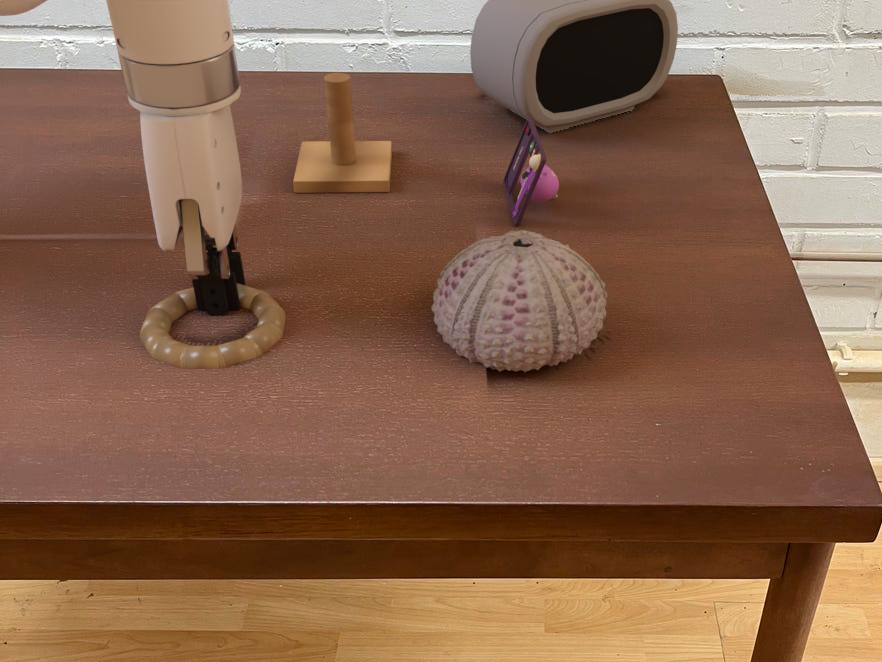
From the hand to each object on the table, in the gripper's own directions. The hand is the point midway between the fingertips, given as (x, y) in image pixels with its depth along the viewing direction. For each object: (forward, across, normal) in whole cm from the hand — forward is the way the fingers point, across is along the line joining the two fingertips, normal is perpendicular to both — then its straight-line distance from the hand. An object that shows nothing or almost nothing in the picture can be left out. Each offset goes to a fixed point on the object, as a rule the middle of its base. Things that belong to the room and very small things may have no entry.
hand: (223, 306), depth 80 cm
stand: (0, -25, +8) cm, 26 cm away
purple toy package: (0, -18, +26) cm, 32 cm away
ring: (-1, +4, 0) cm, 4 cm away
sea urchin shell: (0, +4, +23) cm, 23 cm away
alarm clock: (0, -40, +32) cm, 51 cm away
